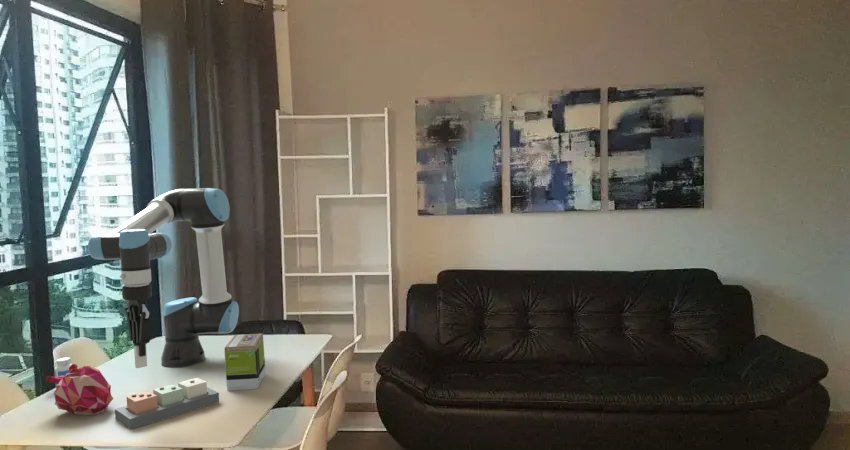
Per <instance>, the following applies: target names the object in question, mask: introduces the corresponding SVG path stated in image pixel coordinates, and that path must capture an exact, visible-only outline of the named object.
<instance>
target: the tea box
mask: <svg viewBox="0 0 850 450" xmlns="http://www.w3.org/2000/svg"><path fill="white" fill-rule="evenodd" d="M264 345H265V343H264V333H249V334H234V335H233V336H232V338H231V339H230V340H229V342H227V344H226V345H225V346H224V361H225V362H224V363H225V376H226V377H225V378H226V389H227V391H228V392H230V391H247V390H257V389H258V388H259V386H260V385H261V383H262V382H263V379H264V378H265V376H266V371H267V370H266V361H265V359H266V358H265V347H264Z"/></svg>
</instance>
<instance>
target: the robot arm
mask: <svg viewBox="0 0 850 450" xmlns="http://www.w3.org/2000/svg"><path fill="white" fill-rule="evenodd" d="M230 212H231V209H230V203H229V199H228V197H227V194H225V192H224V191H223V190H222V189H220V188H213V187H211V188H210V187H202V188H201V187H200V188H198V187H197V188H177V189H174V190H169V191H168V192H165V193H163V194H160V195H159V196H157V197H155V198H154V199H152V200H151V201H150V202H148V203H147V205H146V208H144V209H143V210H141V211H140V212H138V213H137V214H135V215H134V216H132V217H131V218H129V219H128V220H126V221H125V222H123V223H122V224H120V225H118V227H116V228H114V229H113V230H112V231H110V232H108V233H106V234H104V233H100V234H94V235H92V236H91V237H90V238H89V241H88V243H87V250H88V254H89V256H90V257H91V258H92V259H94V260H103V261H108V260H109V261H110V260H111V261H112V260H119V261H120V271H121V272H120V274H119V278H121V284H122V285H123V286H122V287H121V295H122V300H124V301H128V306H125V307H124V312H125V313H126V315H125V316H126V319H127V327H128V335H129V340H130V341H131V342H132V343H133V347H134V348H133V349H134V350H133V351H134V365H135V366H134V367H135V368H136V369H141V368H145V367H148V360H147V359H148V357H147V345H148V344H149V343H150V342H151V341H150V339H151V321H152V316H153V311H152V310H149V306H148V303H147V300H148V299H150V298H151V297H152V296H153V290H152V289H153V288H152V287H153V286H152V284H151V282H152V270H151V269H152V268H151V261H152V260H156V259H161V258H163V257H165V256H167V255H169V253H170V252H171V250H172V246H173V244H172V243H173V242H172V240H171V238H170V236H169V235H167V234H166V233H164V232H155V231H156V230H157V229H159V228H160V227H162V226H167V225H169V224H171V223H174V222H189V223H190V228H191V229H192V230H193V231H195V236H196V237H195V238H196V247H197V254H198V265H199V273H200V276H199V277H200V286H201V293H202V295H200V297H199V298H198V299H197V297H185V298H180V299H175V300H172V301H168V302H166V303H165V304H164V306H163V315H162V317H163V322H164V323H163V326H164V347H163V351H162V353H161V359H160V363H161V365H162V366H164V367H169V368H170V367H171V368H176V367H178V368H179V367H186V366H187V367H188V366H192V365H196V364H198V363H201V362H203V361H204V360H205V359H206V355H205V350H204V348H203V345H202V343H201V340H200V335H199V334H201V335H202V334H204V335H205V334H206V335H207V334H209V335H210V334H211V335H212V334H213V335H215V334H217V335H221V334H222V335H223V334H229V333H231V332H233V331H234V329H235V328H236V326H237V323H238V321H239V315H240V306H239V304H238V302H237V301H234V300H233V296H232V294H230V293H229V292H228V291H227V290H228V289H227V281H226V280H227V279H226V270H225V269H226V267H225V257H224V248H223V247H224V246H223V237H222V229H223V227H224V226H225V221H227V220H229V217H230Z"/></svg>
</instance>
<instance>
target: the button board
mask: <svg viewBox="0 0 850 450" xmlns="http://www.w3.org/2000/svg"><path fill="white" fill-rule="evenodd" d="M218 403H220V392H219V391H216V390H214V389H212V388H210V387H208V386H207V394H204V395H201V396H197V397H194V398H190V399H185V398H183V401H180V402H177V403H173V404H170V405H167V406H163V407H161V406H159V405H157V408H156V409H153V410H150V411H146V412H143V413H139V414H136V415H134V414H132V413H131V412H129V411H128V410H127V405H124V406H123V405H122V406H121V407H117V408H114V415H115V416H114V417H115V418H114V419H115V420H116V421H117V422H119V423H120V424H121V425H123V426H125V427H126V428H128V429H129V430H134V429H138V428H141V427H145V426H147V425H151V424H154V423H157V422H160V421H163V420H167V419H170V418H173V417H176V416H180V415H183V414H186V413H188V412H192V411H195V410H199V409H202V408H206V407H208V406H213V405H215V404H218Z"/></svg>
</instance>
